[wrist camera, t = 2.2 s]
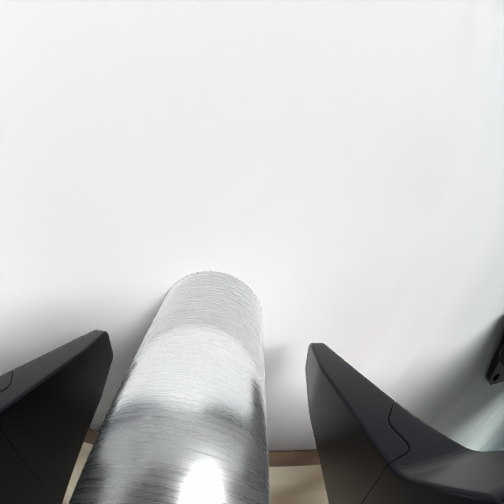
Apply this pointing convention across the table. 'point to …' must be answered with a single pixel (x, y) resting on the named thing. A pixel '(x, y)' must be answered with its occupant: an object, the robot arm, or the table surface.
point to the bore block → (280, 475)
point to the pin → (188, 406)
